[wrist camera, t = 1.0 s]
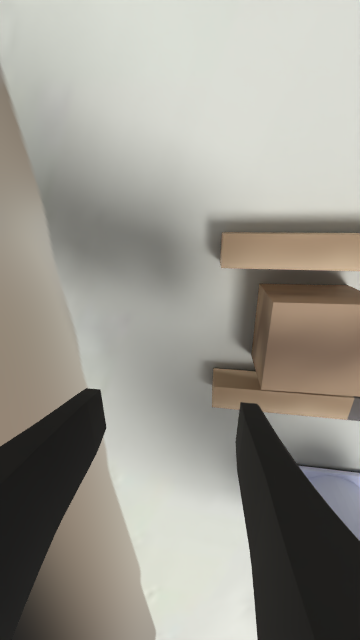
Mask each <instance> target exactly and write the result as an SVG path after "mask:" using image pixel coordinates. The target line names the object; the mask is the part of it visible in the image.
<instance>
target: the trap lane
mask: <svg viewBox="0 0 360 640" xmlns="http://www.w3.org/2000/svg"><path fill="white" fill-rule="evenodd" d="M220 265H221V268H240V269H286V270H331V271H360V233H249V232H222V239H221V255H220ZM240 402H244V403H255V404H258V405H259V406H260V408H261V410H262V411H263V412H269V413H280V414H291V415H302V416H312V417H323V418H334V419H344V420H355V421H360V397H358V396H344V395H330V394H316V393H302V392H288V391H274V390H261V387H260V384H259V380H258V377H257V373H256V371H244V370H230V369H217V368H213V383H212V407H216V408H226V409H237V410H240Z"/></svg>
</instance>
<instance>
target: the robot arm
mask: <svg viewBox="0 0 360 640" xmlns="http://www.w3.org/2000/svg"><path fill="white" fill-rule="evenodd" d="M105 430H106V423H105V416H104V410H103V403H102V397H101V391H100V390H99V389H87V388H86V389H85V390H83V391H81V392H80V393H79V394H77V395H76V396H74V397H73V398H71V399H70V400H69V401H67V402H66V403H64V404H63V405H62V406H60V407H59V408H58V409H56V410H54V411H53V412H52V413H50V414H49V415H47V416H46V417H44V418H43V419H42V420H40V421H39V422H37V423H36V424H34V425H33V426H31V427H30V428H28V429H27V430H25V431H24V432H22V433H21V434H19V435H17V436H16V437H14V438H13V439H11V440H10V441H8V442H7V443H5V444H4V445H2V446H0V640H12V637H13V635H14V632H15V629H16V627H17V624H18V622H19V619H20V617H21V614H22V611H23V609H24V606H25V604H26V602H27V599H28V597H29V594H30V592H31V589H32V587H33V585H34V582H35V580H36V577H37V575H38V572H39V570H40V568H41V565H42V563H43V561H44V558H45V556H46V554H47V551H48V549H49V547H50V544H51V542H52V540H53V537H54V535H55V533H56V531H57V529H58V527H59V525H60V523H61V520H62V518H63V516H64V514H65V512H66V511H67V509H68V507H69V505H70V503H71V501H72V499H73V497H74V495H75V493H76V491H77V490H78V488H79V485H80V484H81V482H82V480H83V478H84V477H85V475H86V473H87V471H88V469H89V467H90V465H91V463H92V461H93V459H94V457H95V455H96V453H97V451H98V448H99V446H100V443H101V441H102V438H103V435H104V433H105ZM236 457H237V472H238V478H239V485H240V491H241V498H242V504H243V510H244V517H245V523H246V529H247V536H248V542H249V549H250V557H251V565H252V576H253V588H254V599H255V611H256V624H257V637H258V640H360V473H356V472H348V471H339V470H331V469H322V468H314V467H305V466H298V465H297V463H296V462H295V461H294V459H293V458H292V456H291V455H290V453H289V452H288V451H287V449H286V448H285V446H284V445H283V443H282V442H281V440H280V439H279V437H278V436H277V434H276V433H275V431H274V429H273V428H272V426H271V425H270V423H269V421H268V420H267V418H266V416H265V415H264V413H263V411H262V410H261V408H260V406H259V405H258V404H255V403H244V402H240V410H239V419H238V427H237V435H236Z"/></svg>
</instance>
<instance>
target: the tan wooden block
mask: <svg viewBox="0 0 360 640" xmlns="http://www.w3.org/2000/svg"><path fill="white" fill-rule="evenodd" d="M251 356H252V359H253V363H254V366H255V370H256V373H257V377H258V380H259V384H260V387H261V390H274V391H288V392H302V393H316V394H330V395H344V396H358V397H360V291H359V290H357V289H355V288H352V287H350V286H348V285H306V284H259V291H258V300H257V308H256V317H255V326H254V335H253V344H252V353H251Z"/></svg>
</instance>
